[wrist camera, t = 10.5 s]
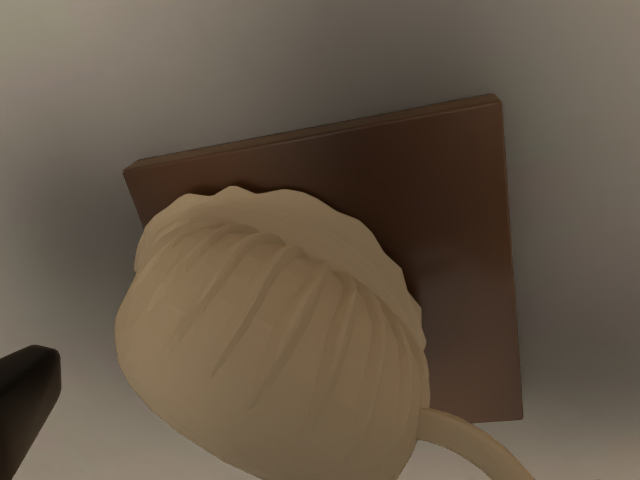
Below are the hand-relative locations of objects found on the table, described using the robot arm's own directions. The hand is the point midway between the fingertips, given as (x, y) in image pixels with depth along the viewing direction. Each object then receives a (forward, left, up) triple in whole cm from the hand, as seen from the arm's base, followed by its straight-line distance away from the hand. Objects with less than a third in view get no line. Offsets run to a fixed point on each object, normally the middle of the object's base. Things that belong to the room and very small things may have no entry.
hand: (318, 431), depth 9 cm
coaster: (0, 0, -5) cm, 5 cm away
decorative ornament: (-1, 0, -4) cm, 4 cm away
